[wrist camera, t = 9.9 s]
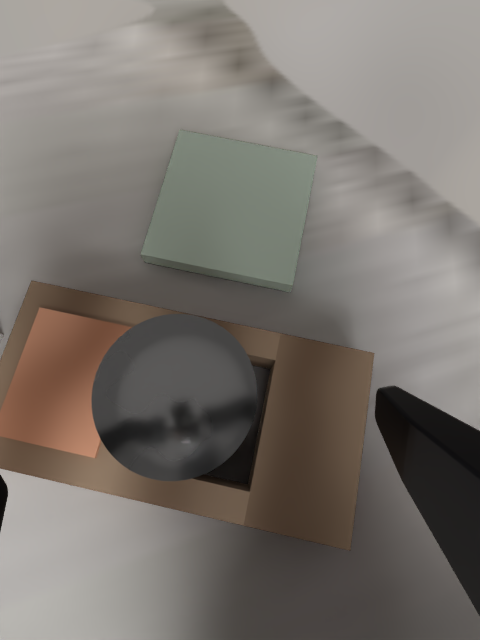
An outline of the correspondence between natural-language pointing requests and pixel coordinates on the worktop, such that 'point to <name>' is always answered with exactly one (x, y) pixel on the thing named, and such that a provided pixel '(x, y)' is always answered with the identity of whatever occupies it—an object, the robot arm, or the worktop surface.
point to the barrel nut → (174, 397)
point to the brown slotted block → (203, 491)
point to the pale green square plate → (231, 210)
